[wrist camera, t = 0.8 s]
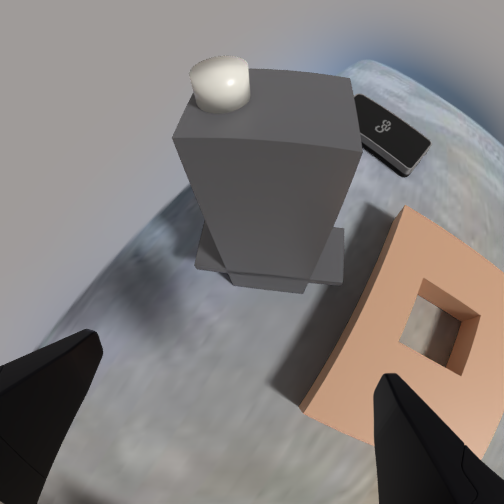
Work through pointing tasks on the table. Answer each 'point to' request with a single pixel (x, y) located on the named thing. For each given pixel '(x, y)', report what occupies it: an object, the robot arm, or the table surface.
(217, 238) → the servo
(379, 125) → the external hard drive
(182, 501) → the table surface
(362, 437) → the plate
